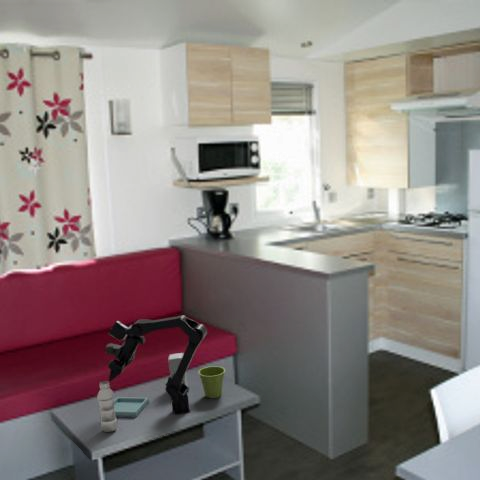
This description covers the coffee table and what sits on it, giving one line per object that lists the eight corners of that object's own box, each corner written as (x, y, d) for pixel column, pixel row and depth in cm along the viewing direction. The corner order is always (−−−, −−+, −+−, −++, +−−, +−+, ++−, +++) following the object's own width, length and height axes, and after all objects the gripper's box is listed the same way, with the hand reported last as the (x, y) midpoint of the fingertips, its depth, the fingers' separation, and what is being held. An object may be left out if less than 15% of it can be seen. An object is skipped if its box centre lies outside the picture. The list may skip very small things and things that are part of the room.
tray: (148, 402, 291) (148, 397, 290) (136, 417, 277) (135, 412, 276) (117, 401, 294) (117, 397, 294) (103, 416, 280) (103, 411, 280)
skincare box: (186, 391, 299) (183, 358, 296) (170, 393, 299) (167, 359, 297) (188, 384, 307) (185, 351, 305) (172, 385, 308) (169, 353, 305)
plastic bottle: (114, 434, 262) (109, 386, 259) (98, 433, 264) (93, 386, 260) (121, 426, 269) (115, 379, 265) (105, 426, 270) (99, 379, 267)
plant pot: (210, 403, 285) (208, 378, 283) (195, 395, 294) (192, 371, 292) (232, 394, 292) (230, 370, 290) (216, 387, 301) (214, 364, 299)
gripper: (120, 330, 289) (104, 359, 292) (105, 343, 270) (89, 374, 274) (142, 343, 288) (126, 372, 291) (129, 357, 270) (112, 388, 273)
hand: (113, 376), depth 282 cm, fingers open, 9 cm apart
